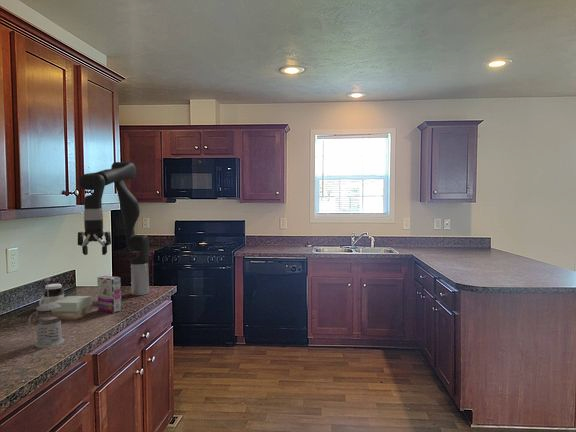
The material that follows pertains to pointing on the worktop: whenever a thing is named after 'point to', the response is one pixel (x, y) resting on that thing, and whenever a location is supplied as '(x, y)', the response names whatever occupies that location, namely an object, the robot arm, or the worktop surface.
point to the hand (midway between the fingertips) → (94, 254)
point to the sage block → (73, 303)
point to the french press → (48, 325)
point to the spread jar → (52, 294)
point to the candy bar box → (109, 294)
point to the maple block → (72, 313)
